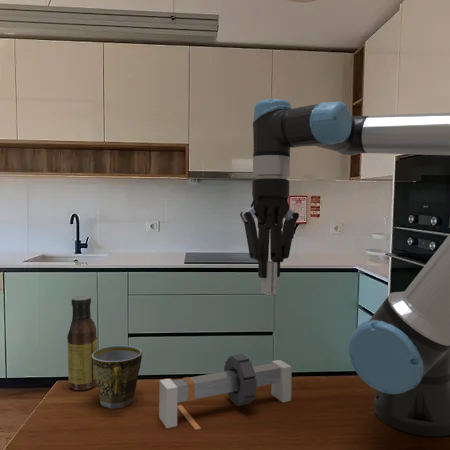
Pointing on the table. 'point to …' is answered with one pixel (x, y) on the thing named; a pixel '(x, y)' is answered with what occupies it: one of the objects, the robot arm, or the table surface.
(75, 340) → the sauce bottle
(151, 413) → the table surface
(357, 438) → the table surface
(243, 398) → the ring
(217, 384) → the light grey bar
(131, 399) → the ceramic cup
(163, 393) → the stand
